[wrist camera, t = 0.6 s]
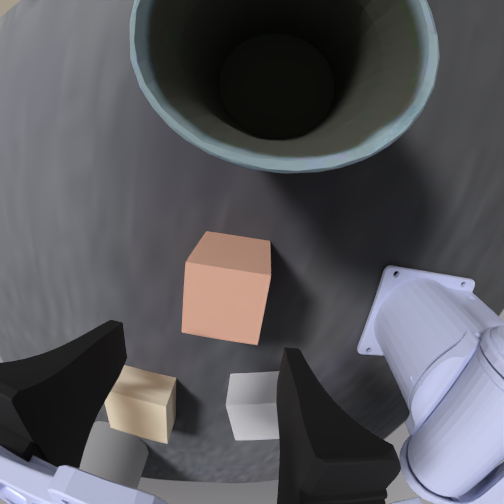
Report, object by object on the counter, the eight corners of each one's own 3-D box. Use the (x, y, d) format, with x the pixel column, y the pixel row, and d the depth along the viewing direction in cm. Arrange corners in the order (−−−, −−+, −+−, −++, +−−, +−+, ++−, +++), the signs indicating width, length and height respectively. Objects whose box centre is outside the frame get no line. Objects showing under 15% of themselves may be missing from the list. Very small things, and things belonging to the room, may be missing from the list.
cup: (93, 411, 30) (60, 473, 20) (155, 442, 31) (134, 509, 21) (86, 439, 32) (60, 492, 23) (139, 466, 33) (121, 521, 24)
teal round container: (288, 188, 20) (314, 242, 9) (170, 99, 19) (69, 60, 7) (379, 82, 18) (483, 34, 6) (263, -5, 16) (258, -116, 5)
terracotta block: (270, 240, 22) (271, 275, 16) (260, 297, 23) (257, 345, 18) (206, 231, 22) (185, 261, 16) (200, 288, 23) (181, 332, 18)
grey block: (287, 369, 26) (289, 401, 22) (290, 406, 27) (292, 437, 23) (230, 372, 26) (225, 404, 22) (238, 409, 28) (235, 440, 24)
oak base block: (176, 376, 27) (165, 406, 23) (176, 415, 29) (167, 443, 25) (117, 361, 27) (101, 388, 23) (123, 401, 29) (110, 427, 25)
